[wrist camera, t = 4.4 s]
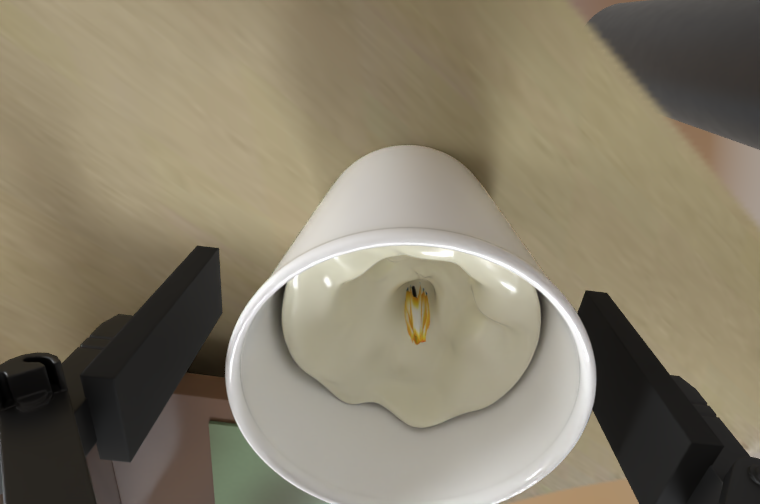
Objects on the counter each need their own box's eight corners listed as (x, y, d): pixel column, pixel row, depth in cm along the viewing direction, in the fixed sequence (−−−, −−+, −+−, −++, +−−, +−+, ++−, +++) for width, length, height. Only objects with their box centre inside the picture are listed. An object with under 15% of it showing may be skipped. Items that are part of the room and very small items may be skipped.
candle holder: (466, 326, 25) (511, 547, 15) (293, 283, 25) (206, 482, 14) (538, 158, 21) (675, 297, 10) (330, 100, 20) (247, 184, 10)
